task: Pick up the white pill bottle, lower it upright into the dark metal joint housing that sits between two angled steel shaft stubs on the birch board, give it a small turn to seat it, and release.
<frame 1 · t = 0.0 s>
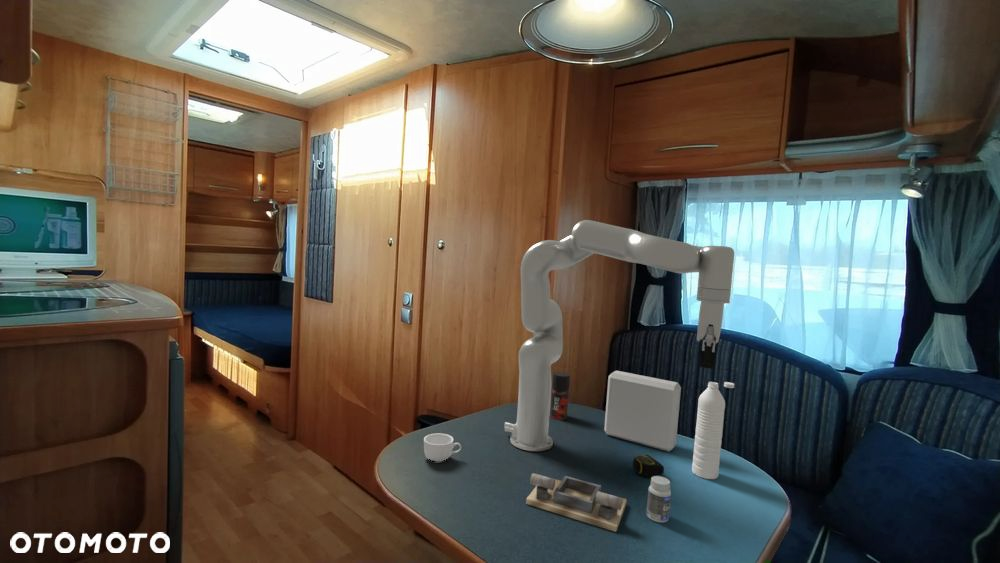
hand: (706, 363, 115), 31 cm above the table, fingers open, 9 cm apart
water bottle: (708, 474, 123), on the table
tape measure: (647, 473, 122), on the table
bevelled white case: (639, 440, 143), on the table
pill bottle: (657, 517, 101), on the table
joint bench: (576, 504, 104), on the table
teacup: (441, 459, 122), on the table
deodorant: (558, 417, 159), on the table
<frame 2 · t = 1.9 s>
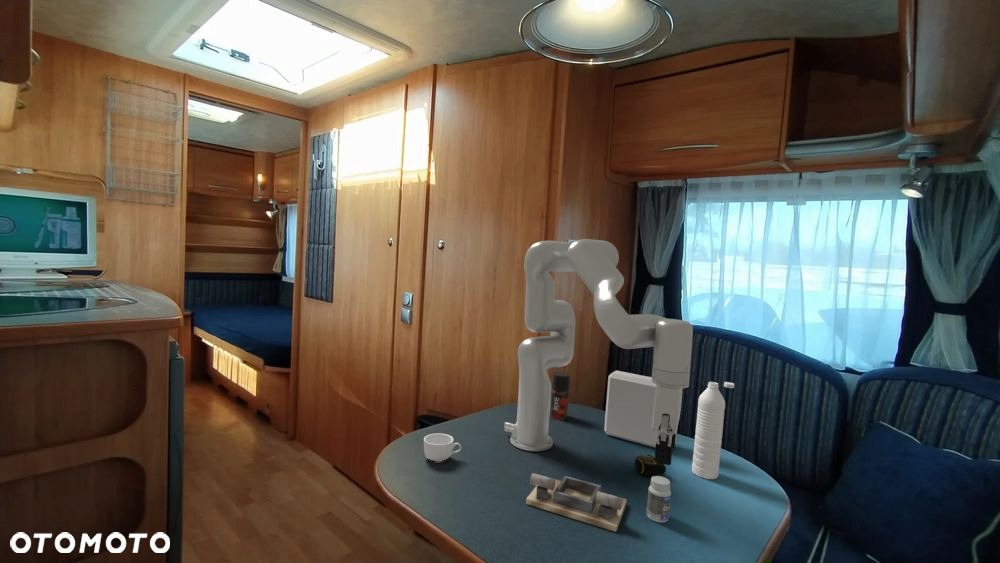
hand: (665, 454, 99), 14 cm above the table, fingers open, 9 cm apart
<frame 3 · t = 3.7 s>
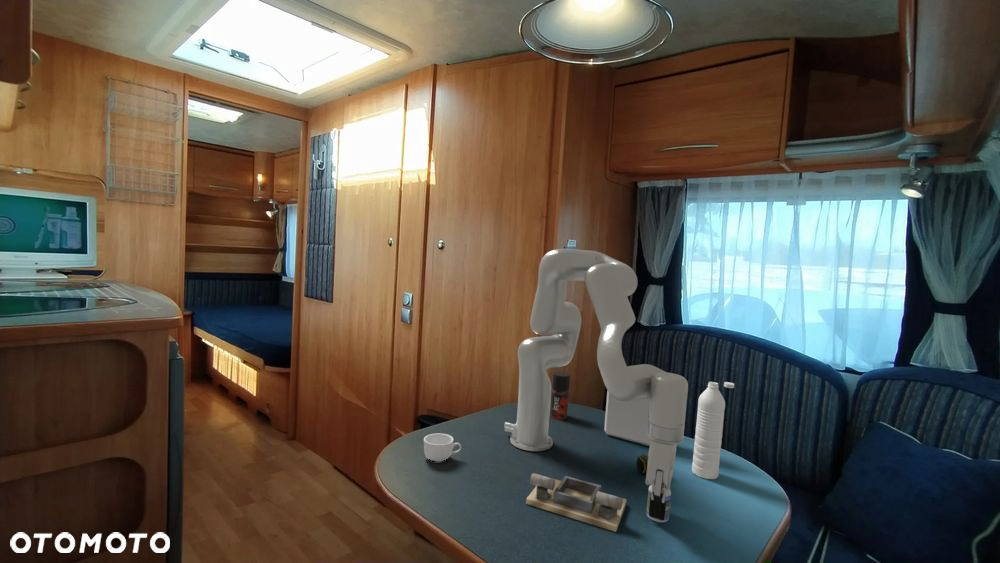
hand: (658, 510, 101), 1 cm above the table, fingers closed on pill bottle, 4 cm apart
pill bottle: (657, 517, 101), on the table, touching gripper
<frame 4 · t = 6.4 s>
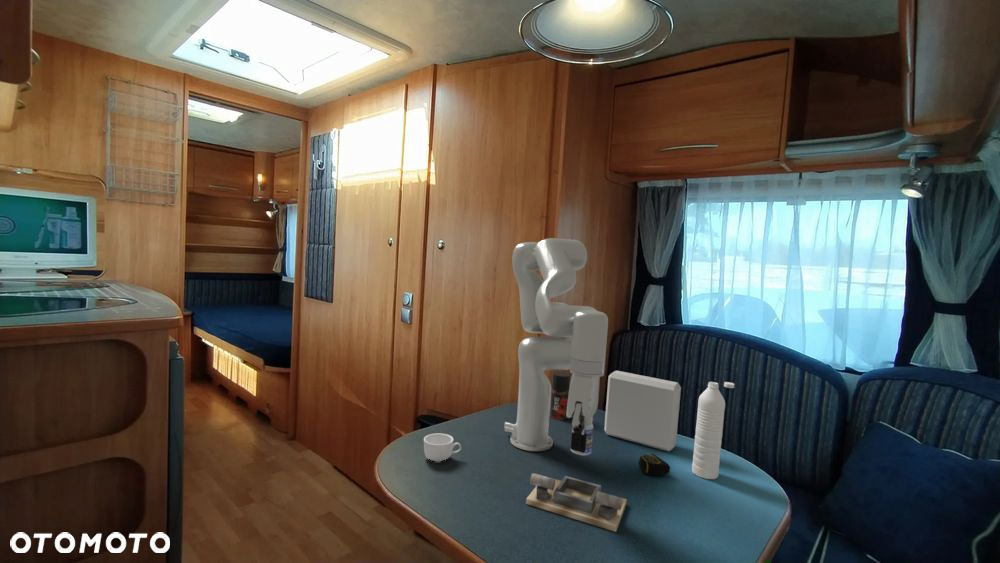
hand: (581, 445, 103), 14 cm above the table, fingers closed on pill bottle, 4 cm apart
pill bottle: (580, 452, 103), point 12 cm above the table, touching gripper
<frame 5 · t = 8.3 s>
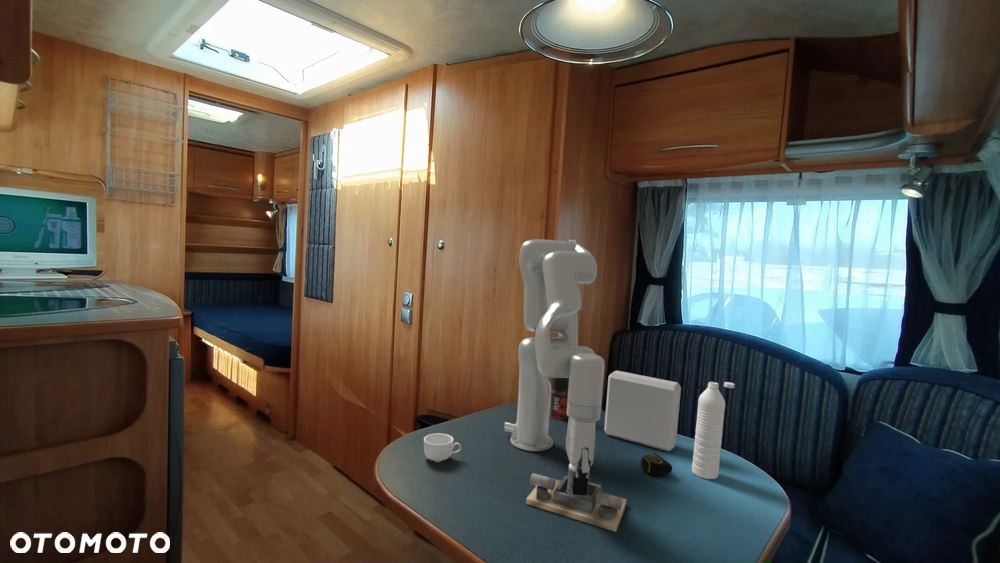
hand: (577, 486, 104), 4 cm above the table, fingers closed on pill bottle, 4 cm apart
pill bottle: (577, 493, 104), point 2 cm above the table, touching gripper
when the fingers open (4 cm above the table, at t = 9.5 s): pill bottle drops 1 cm, resting on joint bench.
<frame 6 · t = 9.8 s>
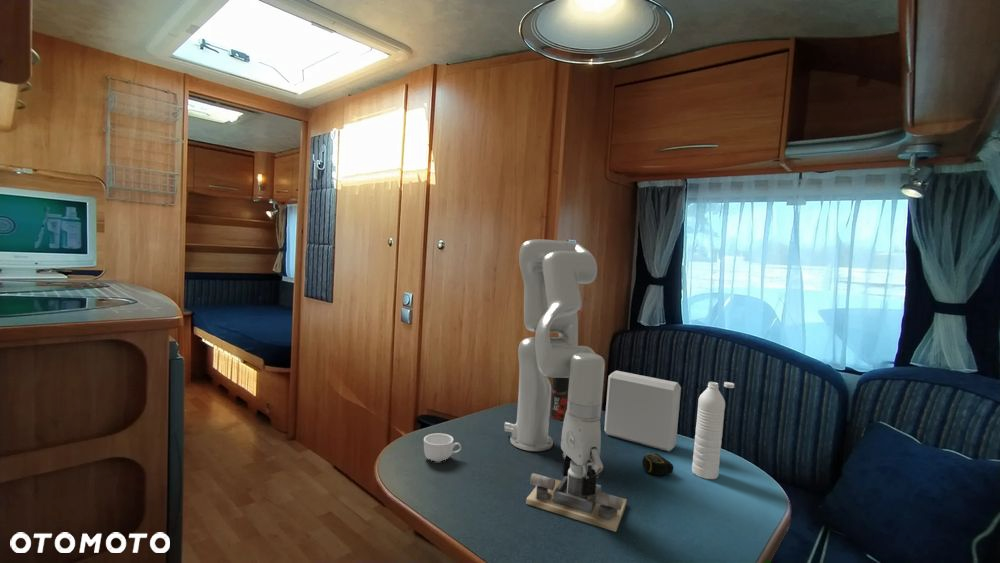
hand: (578, 484, 103), 5 cm above the table, fingers open, 8 cm apart
pill bottle: (576, 499, 104), point 1 cm above the table, touching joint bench
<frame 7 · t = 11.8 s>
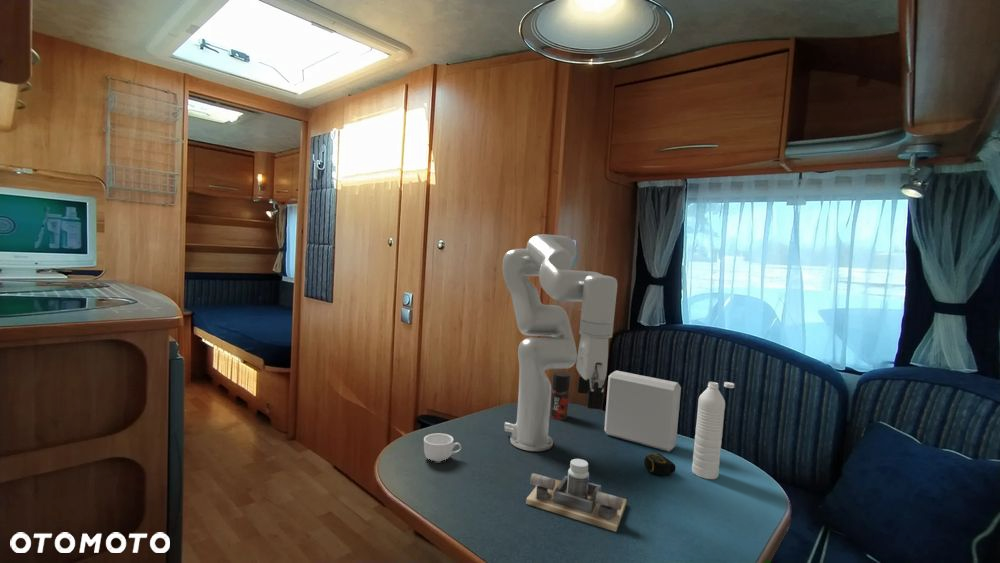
hand: (588, 400, 107), 23 cm above the table, fingers open, 9 cm apart
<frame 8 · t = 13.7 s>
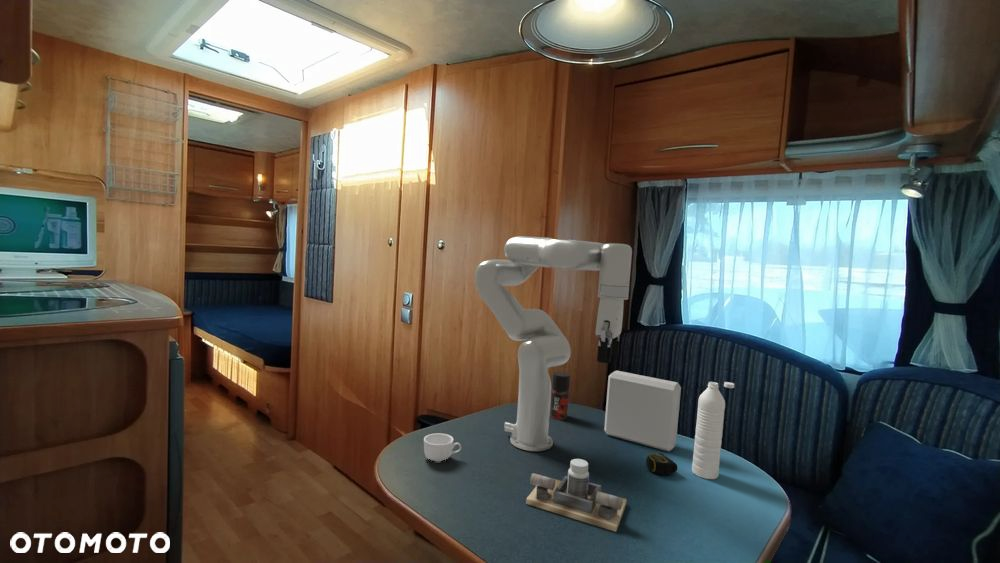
hand: (607, 358, 117), 30 cm above the table, fingers open, 9 cm apart
at the end: pill bottle 0.3 cm off-centre on the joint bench, point 1.0 cm above the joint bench's base; pill bottle tilted 0°; the gripper is holding nothing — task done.
